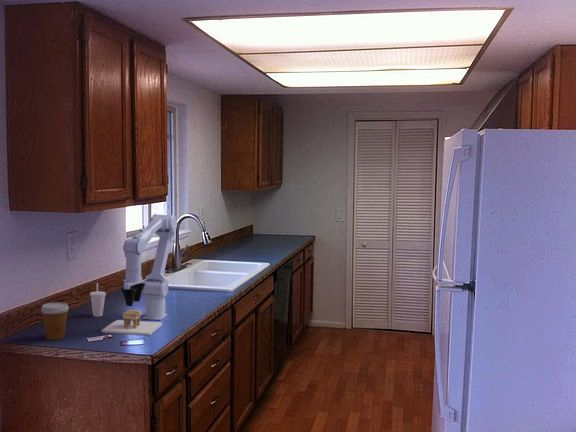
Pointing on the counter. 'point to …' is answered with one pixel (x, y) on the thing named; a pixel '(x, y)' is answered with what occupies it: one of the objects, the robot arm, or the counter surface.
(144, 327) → the cutting board
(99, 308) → the smoothie
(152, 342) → the counter surface
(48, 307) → the disposable coffee cup
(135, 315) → the stool
